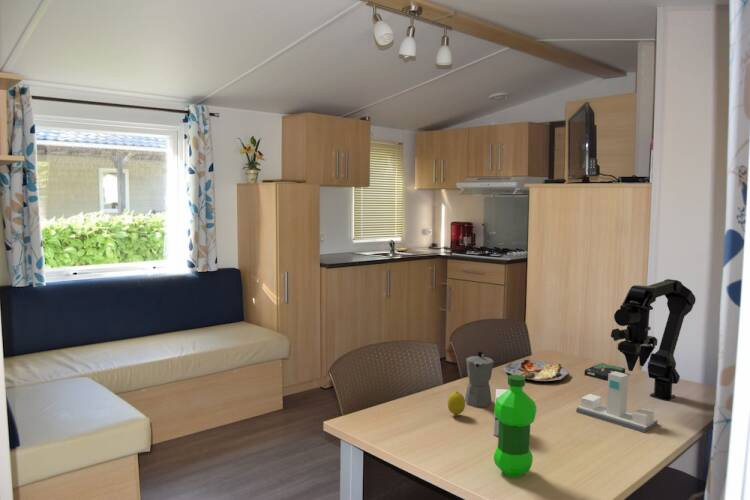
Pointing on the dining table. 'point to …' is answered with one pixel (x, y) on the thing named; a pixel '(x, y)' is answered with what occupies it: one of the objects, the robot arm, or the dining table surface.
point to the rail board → (636, 420)
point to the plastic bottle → (514, 428)
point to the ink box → (496, 421)
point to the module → (617, 394)
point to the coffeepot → (479, 380)
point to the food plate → (537, 370)
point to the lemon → (456, 403)
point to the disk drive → (602, 371)
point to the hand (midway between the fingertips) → (636, 368)
